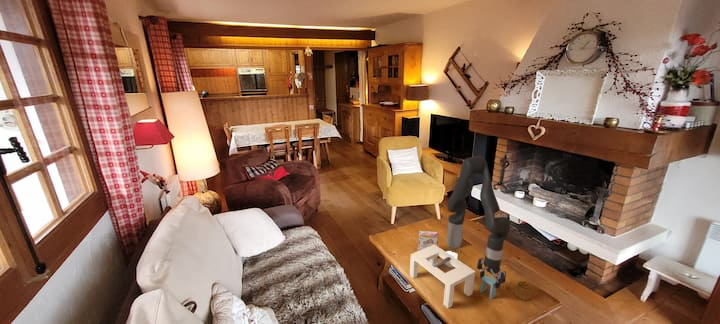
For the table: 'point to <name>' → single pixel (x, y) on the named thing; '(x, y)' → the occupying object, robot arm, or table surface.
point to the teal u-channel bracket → (492, 282)
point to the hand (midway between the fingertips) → (489, 282)
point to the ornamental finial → (523, 290)
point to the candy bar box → (427, 239)
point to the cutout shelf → (447, 278)
